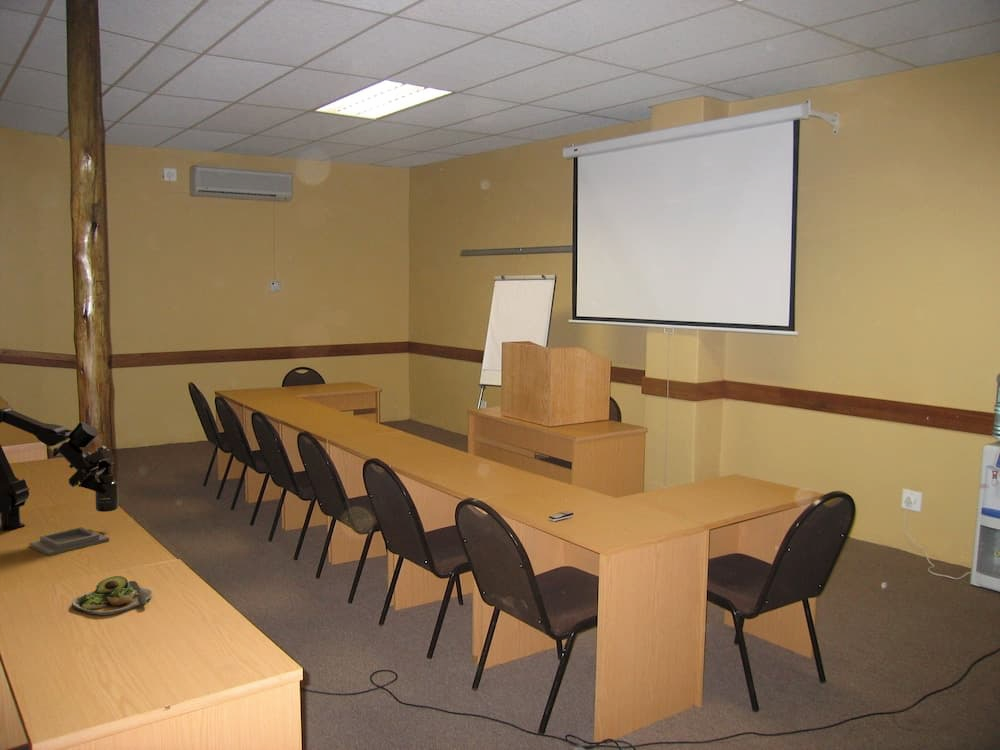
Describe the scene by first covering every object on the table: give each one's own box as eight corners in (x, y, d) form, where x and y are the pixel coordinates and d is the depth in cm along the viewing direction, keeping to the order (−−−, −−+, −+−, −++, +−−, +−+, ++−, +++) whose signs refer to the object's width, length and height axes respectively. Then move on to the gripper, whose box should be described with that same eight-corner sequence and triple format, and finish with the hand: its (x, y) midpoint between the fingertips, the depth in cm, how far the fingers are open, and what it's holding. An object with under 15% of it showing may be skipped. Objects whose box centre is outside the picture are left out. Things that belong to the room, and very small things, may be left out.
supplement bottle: (101, 513, 254) (100, 477, 253) (91, 509, 258) (90, 474, 257) (122, 509, 260) (121, 473, 258) (112, 505, 264) (111, 470, 262)
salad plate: (173, 599, 202) (172, 582, 202) (109, 624, 187) (108, 606, 186) (126, 585, 212) (125, 568, 211) (62, 608, 196) (61, 590, 196)
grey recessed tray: (29, 546, 242) (29, 538, 242) (89, 532, 256) (88, 524, 256) (48, 555, 233) (48, 547, 233) (109, 540, 247) (109, 533, 247)
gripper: (76, 445, 247) (111, 480, 248) (108, 435, 266) (140, 467, 267) (53, 469, 248) (88, 504, 249) (86, 457, 267) (119, 489, 268)
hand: (110, 490), depth 258 cm, fingers closed on supplement bottle, 7 cm apart
